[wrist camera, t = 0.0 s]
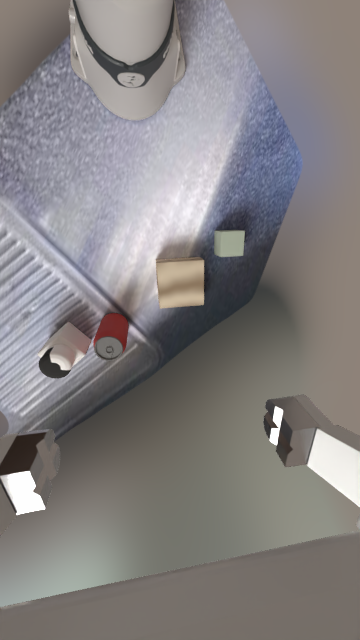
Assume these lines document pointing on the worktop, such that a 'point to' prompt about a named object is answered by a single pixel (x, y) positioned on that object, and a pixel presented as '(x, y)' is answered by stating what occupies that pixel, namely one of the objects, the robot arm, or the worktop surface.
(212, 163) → the worktop surface
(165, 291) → the birch block
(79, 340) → the medicine bottle
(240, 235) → the sage block
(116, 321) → the beer can
